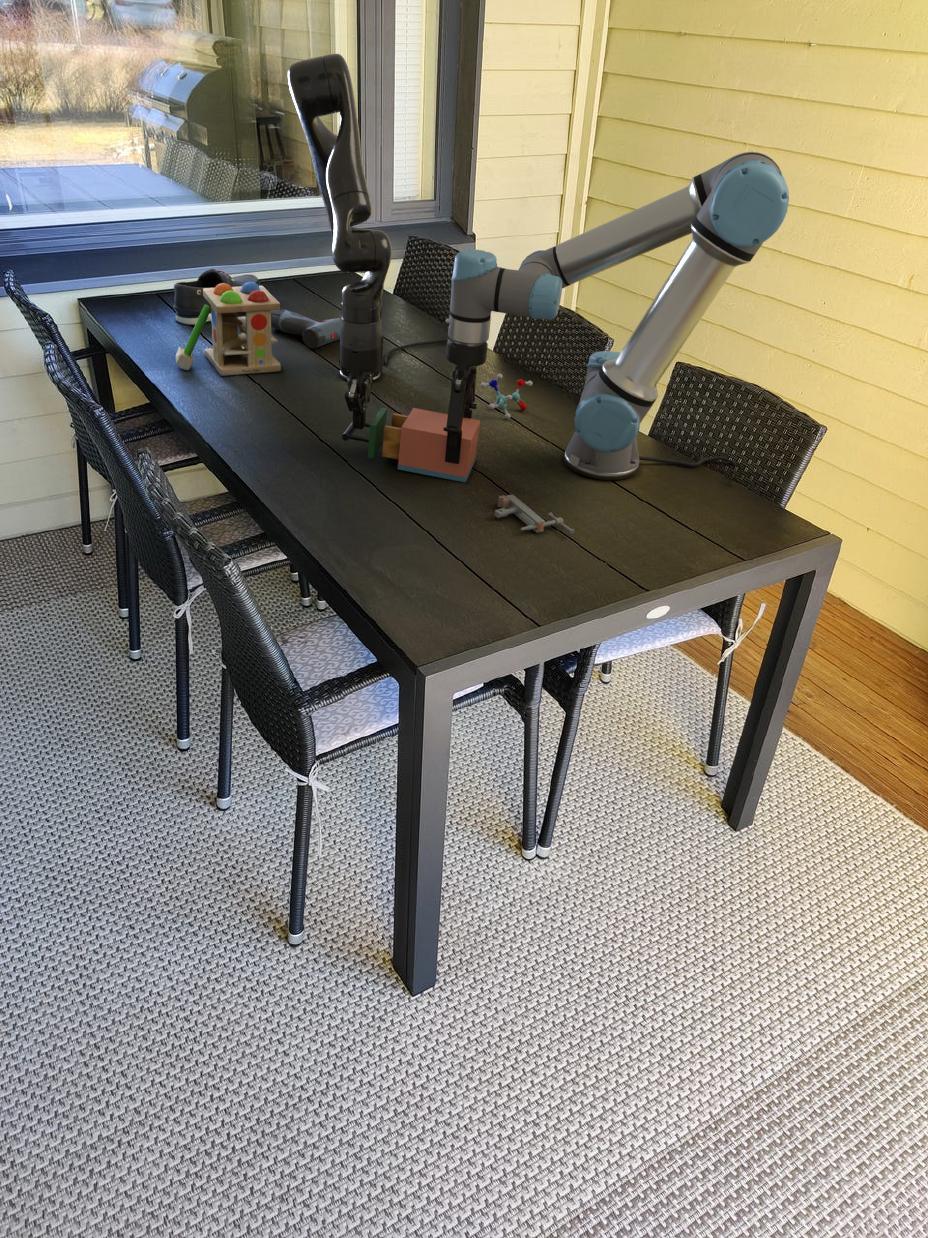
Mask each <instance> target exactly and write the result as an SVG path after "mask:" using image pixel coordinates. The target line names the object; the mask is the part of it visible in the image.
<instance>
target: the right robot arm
mask: <svg viewBox="0 0 928 1238" xmlns="http://www.w3.org/2000/svg"><path fill="white" fill-rule="evenodd" d="M780 168H781V167H780V166H779V165H778V164H777V163H776V162H775V160H774V159H773V158H771V157H770V156H768V155H767V154H765V153H762V152H757V151H747V152H746V151H745V152H742V153H741V152H740V153H738V154H735V155H734V156H731V157H729V158H727V159H726V160H724V161H722V162H721V163H719V164H717V165H715V166H713V167H711V168H709V169H707V170H706V171H705V170H704V171H703V172H701V173H699V174H697V175H695V176H692V177H691V179H690V180H689V183H688V185H687V186H685V187H683V188H681V189H679V190H675V192H671V193H669V194H668V195H665V196H663V197H660V198H659V199H656V200H654V201H652V202H650V203H647V204H645V205H643V206H641V207H638V208H636V209H634V210H632V211H630V212H627V213H625V214H623V215H621V216H618V217H616V218H614V219H612V220H609V221H608V222H605V223H603V224H601V225H598V226H595V227H593V228H591V229H589V230H587V231H584V232H582V233H581V234H578V235H576V236H574V237H571V238H569V239H567V240H564V241H563V242H560V243H558V244H555V246H552V247H549V248H547V249H540V250H536V251H533V252H531V253H530V254H529V255H527V256H526V257H525V258H524V259H523V260H522V261H521V263H520V265H519V268H518V269H510V268H504V267H501V266H498V263H497V261H498V260H497V256H496V255H495V254H494V253H492V252H490V251H485V250H484V249H483V250H482V249H463V250H461V251H459V252H458V253H456V254H455V257H454V263H453V271H452V276H451V288H450V302H449V303H450V304H449V318H446V319H445V323H446V324H447V325H449V326H448V330H447V331H448V332H447V336H448V338H449V339H448V340H447V341H446V350H445V351H446V352H445V358H446V360H447V362H450V363H451V364H454V365H455V368H454V370H453V371H452V376H451V378H452V379H451V381H450V383H451V385H450V394H449V395H450V397H449V403H448V411H447V414H448V418H447V425H446V427H444V431H446V432H447V443H446V455H445V462H448V463H454V464H459V461H460V451H461V440H462V429H461V428H462V422H463V417H464V418H470V419H473V410H477V405H478V404H477V403H475V401H476V387H477V386H476V384H477V371H478V370H477V367H479V366H482V365H484V364H485V363H486V362H487V356H488V347H489V344H488V341H489V339H490V332H491V321H492V312H494V313H499V314H500V313H501V314H507V315H513V316H518V317H524V318H525V317H526V318H529V319H530V318H531V319H534V320H549V321H550V320H554V319H556V317H557V316H558V313H559V310H560V306H561V305H560V304H561V299H562V293H563V292H562V291H563V289H565V288H567V287H570V286H571V285H574V284H575V283H578V282H581V281H582V280H585V279H587V278H590V277H592V276H594V275H596V274H600V273H601V272H604V271H606V270H608V269H611V268H613V267H616V266H618V265H620V264H623V263H625V262H628V261H629V260H632V259H634V258H637V257H640V256H642V255H644V254H646V253H649V252H651V251H654V250H656V249H658V248H660V247H663V246H665V245H668V244H671V243H672V242H674V241H677V240H680V239H681V238H684V237H687V236H689V235H692V237H691V240H690V241H689V243H688V245H687V247H686V248H685V250H684V252H683V253H682V255H681V256H680V258H679V260H678V261H677V263H676V264H675V266H674V267H673V269H672V271H671V272H670V274H669V275H668V276H667V278H666V280H665V281H664V283H663V285H662V286H661V288H660V289H659V291H658V292H657V294H656V295H655V297H654V299H653V301H652V302H651V304H650V305H649V306H648V308H647V309H646V312H645V313H644V314H643V316H642V318H641V319H640V321H639V322H638V324H637V325H636V327H635V329H634V330H633V332H632V333H631V335H630V337H629V338H628V340H626V343H625V344H624V346H623V347H622V349H621V351H612V350H611V351H608V350H607V351H606V350H603V351H602V350H601V351H596V352H593V353H592V354H591V355H590V356H589V359H588V363H587V364H586V369H587V370H586V376H585V381H584V385H583V389H582V392H581V396H580V399H579V402H578V405H577V407H576V409H575V413H574V427H575V431H574V433H573V434H572V436H571V438H570V441H569V442H568V444H567V446H566V449H565V452H564V459H563V461H564V465H566V466H567V468H569V469H570V470H571V471H573V472H574V473H577V474H578V475H581V476H584V477H586V478H590V479H593V480H600V481H622V480H627V479H629V478H632V477H634V476H635V475H637V473H638V470H639V466H640V461H647V462H656V463H665V464H672V465H673V464H674V465H678V466H683V467H689V468H695V467H699V466H701V464H703V463H706V462H713V461H725V462H728V463H729V464H731V465H732V466H737V463H736V461H734V460H733V459H732V460H728V458H729V457H728V458H727V456H721V455H720V456H710V457H703V458H701V459H700V460H698V461H696V462H685V461H681V460H678V459H677V460H676V459H670V458H662V457H661V458H660V457H652V456H651V457H650V456H643V455H641V456H640V455H639V447H638V440H637V436H638V435H639V431H640V427H641V423H642V422H643V419H645V417H646V415H647V414H648V413H649V411H650V410H651V408H652V407H653V406H654V404H655V402H656V401H657V399H658V398H659V392H658V388H657V384H658V383H659V382H660V380H661V378H662V377H663V376H664V374H665V373H666V371H667V370H668V368H669V367H670V365H671V364H672V363H673V361H674V360H675V357H676V356H677V355H678V353H679V352H680V350H681V349H682V347H683V346H684V344H685V343H686V341H688V338H689V337H690V335H692V332H693V331H694V329H695V328H696V326H697V325H698V324H699V322H700V321H701V319H702V317H703V316H704V315H705V313H706V312H707V310H708V309H709V307H710V306H711V304H712V303H713V302H714V300H715V299H716V298H717V295H718V294H719V292H720V291H721V290H722V287H723V286H724V285H725V283H726V282H727V281H728V279H729V277H730V276H731V275H732V273H733V272H734V270H735V269H736V268H737V267H739V266H742V265H746V264H749V263H751V261H752V260H753V259H754V257H755V255H756V254H757V253H758V251H759V250H760V248H761V247H762V246H763V243H764V242H767V240H769V239H770V238H771V237H773V236H774V235H775V233H776V232H778V230H779V229H780V228H781V226H782V224H783V223H784V220H785V218H786V217H787V213H788V208H789V202H790V196H789V195H790V193H789V187H788V184H787V181H786V179H785V177H784V176H783V173H782V171H781V169H780Z"/></svg>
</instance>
